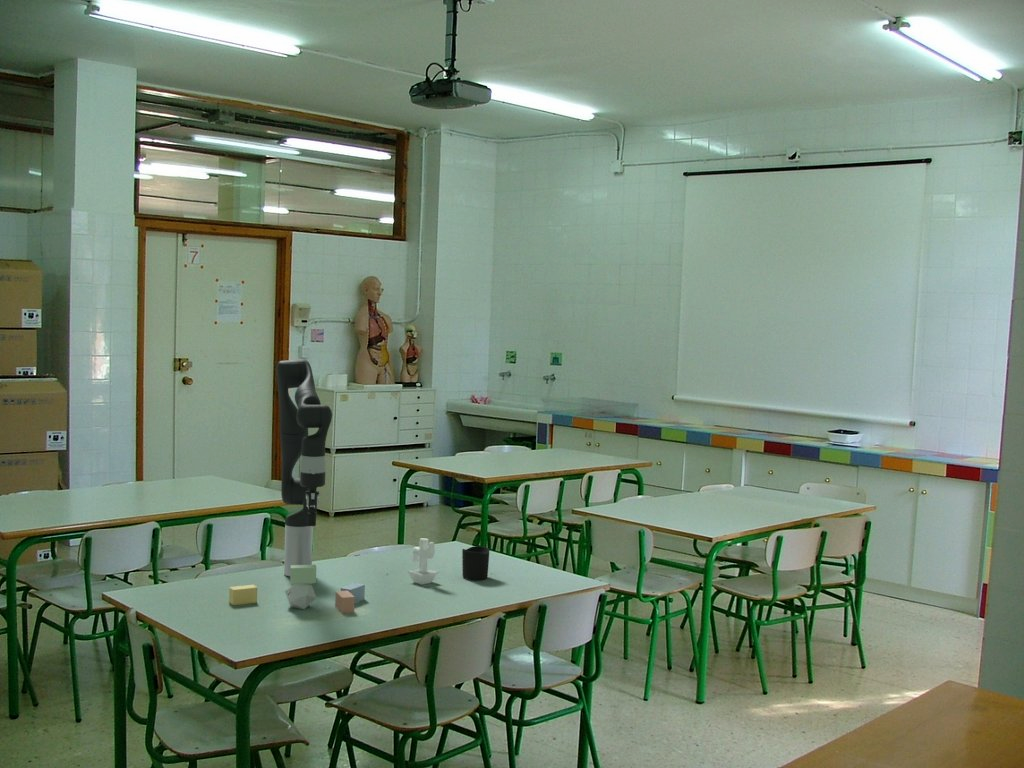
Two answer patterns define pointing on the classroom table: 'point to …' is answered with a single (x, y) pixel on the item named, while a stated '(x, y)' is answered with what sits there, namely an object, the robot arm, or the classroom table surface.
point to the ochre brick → (243, 594)
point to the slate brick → (356, 591)
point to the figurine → (423, 562)
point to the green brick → (303, 574)
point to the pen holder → (475, 563)
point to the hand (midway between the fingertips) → (311, 523)
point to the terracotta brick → (344, 601)
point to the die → (300, 595)
